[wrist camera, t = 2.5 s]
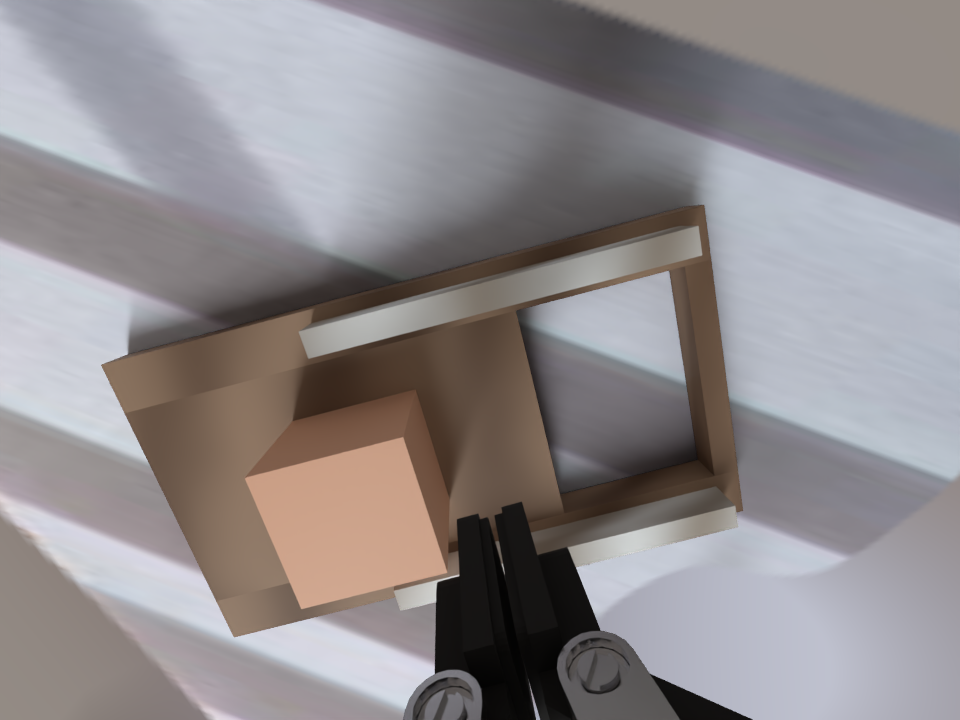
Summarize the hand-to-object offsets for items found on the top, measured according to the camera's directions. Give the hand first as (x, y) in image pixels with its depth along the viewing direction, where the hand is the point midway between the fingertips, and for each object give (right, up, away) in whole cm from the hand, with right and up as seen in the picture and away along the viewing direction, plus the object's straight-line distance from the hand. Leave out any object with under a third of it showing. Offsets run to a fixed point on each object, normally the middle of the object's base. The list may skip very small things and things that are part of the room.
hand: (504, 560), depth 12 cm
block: (-5, +1, +8) cm, 9 cm away
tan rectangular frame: (-2, +2, +9) cm, 10 cm away
